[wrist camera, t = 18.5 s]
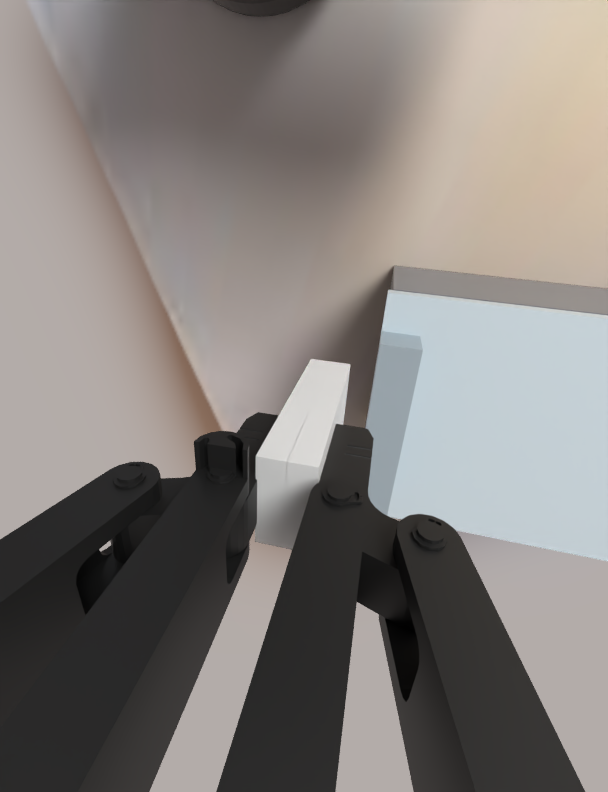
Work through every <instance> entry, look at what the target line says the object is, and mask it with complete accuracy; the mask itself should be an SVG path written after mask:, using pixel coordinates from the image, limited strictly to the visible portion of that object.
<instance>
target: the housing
mask: <svg viewBox="0 0 608 792" xmlns="http://www.w3.org/2000/svg"><path fill="white" fill-rule="evenodd" d="M390 290H396V291H404V292H413V293H421V294H430V295H438V296H447V297H455V298H464V299H472V300H481V301H489V302H498V303H506V304H515V305H523V306H532V307H540V308H549V309H557V310H566V311H574V312H583V313H591V314H600V315H608V289H605V288H596V287H587V286H578V285H569V284H559V283H550V282H541V281H532V280H522V279H513V278H504V277H495V276H485V275H476V274H467V273H458V272H448V271H439V270H430V269H421V268H412V267H402V266H394V269H393V275H392V281H391V287H390Z"/></svg>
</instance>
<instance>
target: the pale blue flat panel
mask: <svg viewBox="0 0 608 792" xmlns="http://www.w3.org/2000/svg"><path fill="white" fill-rule="evenodd" d="M365 428H366V429H368V430H369V431H370V433H371V435H372V437H373V438H374V441H373V450H372V458H371V468H370V477H369V486H368V496H369V498H370V501H371V503H372V504H373V505H374V506H375V507H376V508H377V509H378V510H379V511H380V512H382V513H383V514H385V515H387V516H389V517H392V518H397V519H403V518H405V517H407V516H409V515H414V514H424V515H431V516H434V517H436V518H439V519H441V520H443V521H445V522H446V523H448V524H449V525H450V526H452V527H453V528H454V529H455V530H457V531H461V532H466V533H471V534H476V535H481V536H486V537H491V538H496V539H501V540H505V541H511V542H515V543H520V544H525V545H530V546H535V547H540V548H545V549H550V550H555V551H560V552H565V553H569V554H574V555H579V556H584V557H589V558H594V559H599V560H604V561H608V315H600V314H591V313H583V312H574V311H566V310H557V309H549V308H540V307H532V306H523V305H515V304H506V303H498V302H489V301H481V300H472V299H464V298H455V297H447V296H438V295H430V294H421V293H413V292H404V291H396V290H388V294H387V300H386V306H385V312H384V318H383V324H382V330H381V336H380V342H379V348H378V353H377V359H376V365H375V371H374V377H373V383H372V389H371V395H370V401H369V407H368V413H367V419H366V425H365Z"/></svg>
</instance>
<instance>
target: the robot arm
mask: <svg viewBox="0 0 608 792" xmlns="http://www.w3.org/2000/svg"><path fill="white" fill-rule="evenodd" d="M213 1H215V2H216V3H218V4H220V5H221V6H223V7H225V8H227V9H229V10H232V11H234V12H237V13H241V14H244V15H250V16H270V15H277V14H281V13H284V12H287V11H290V10H293V9H295V8H297V7H299V6H301V5H303V4H304V3H306V2H308V1H309V0H213ZM350 365H351V364H346V363H338V362H331V361H323V360H316V359H311V360H310V362H309V363H308V365H307V367H306V369H305V370H304V372H303V374H302V376H301V377H300V379H299V381H298V383H297V384H296V386H295V388H294V390H293V391H292V393H291V395H290V397H289V398H288V400H287V402H286V404H285V405H284V407H283V409H282V411H281V413H280V414H279V416H278V415H271V414H265V413H259V412H258V413H256V414H254V415H253V416H251V417H249V418H247V419H246V421H245V422H244V423H243V425H242V426H241V428H240V430H238V432H237V433H234V432H228V431H218V432H211V433H208V434H205V435H203V436H200V437H199V438H198V439H197V440H195V441H194V448H195V462H196V471H195V472H194V473H193V475H192V476H191V477H185V478H166V479H161V478H160V473H159V470H158V469H157V467H155V466H154V465H152V464H149V463H145V462H130V463H126V464H122V465H119V466H117V467H114V468H112V469H110V470H109V471H107V472H105V473H104V474H102V475H101V476H99V477H98V478H96V479H95V480H93V481H91V482H90V483H88V484H87V485H85V486H84V487H82V488H81V489H79V490H77V491H76V492H74V493H73V494H71V495H70V496H68V497H66V498H65V499H63V500H62V501H60V502H58V503H57V504H56V505H54V506H52V507H51V508H49V509H47V510H46V511H44V512H43V513H41V514H40V515H38V516H36V517H35V518H33V519H32V520H30V521H29V522H27V523H26V524H24V525H22V526H21V527H19V528H18V529H16V530H14V531H13V532H11V533H10V534H9V535H7V536H5V537H3V538H2V539H0V792H149V791H150V788H151V786H152V784H153V781H154V779H155V777H156V774H157V772H158V770H159V767H160V765H161V762H162V760H163V758H164V755H165V753H166V751H167V748H168V746H169V744H170V741H171V739H172V737H173V734H174V731H175V729H176V727H177V725H178V722H179V720H180V718H181V715H182V713H183V711H184V708H185V706H186V703H187V701H188V699H189V696H190V694H191V692H192V689H193V687H194V685H195V682H196V680H197V678H198V675H199V673H200V671H201V668H202V665H203V663H204V661H205V658H206V656H207V654H208V652H209V649H210V647H211V645H212V642H213V640H214V637H215V635H216V633H217V630H218V628H219V626H220V623H221V621H222V619H223V616H224V614H225V611H226V609H227V607H228V604H229V602H230V600H231V597H232V595H233V593H234V590H235V588H236V586H237V583H238V581H239V578H240V576H241V573H242V571H243V569H244V567H245V564H246V562H247V559H248V555H249V540H250V538H251V536H252V534H253V531H254V529H255V542H259V543H264V544H268V545H273V546H277V547H282V548H286V549H291V550H292V553H291V556H290V559H289V562H288V565H287V568H286V572H285V575H284V578H283V581H282V584H281V588H280V591H279V594H278V597H277V601H276V603H275V607H274V610H273V613H272V616H271V620H270V623H269V626H268V629H267V632H266V635H265V639H264V642H263V645H262V648H261V651H260V655H259V658H258V661H257V664H256V667H255V670H254V674H253V677H252V680H251V683H250V686H249V690H248V693H247V696H246V699H245V702H244V706H243V709H242V712H241V715H240V718H239V721H238V725H237V728H236V731H235V734H234V737H233V740H232V744H231V747H230V750H229V754H228V756H227V760H226V763H225V766H224V769H223V772H222V775H221V779H220V782H219V785H218V788H217V792H335V789H336V780H337V771H338V763H339V753H340V745H341V736H342V727H343V718H344V709H345V700H346V691H347V682H348V674H349V664H350V656H351V647H352V638H353V629H354V619H355V611H356V602H358V603H360V604H362V605H364V606H365V607H367V608H369V609H371V610H373V611H374V612H376V613H378V614H379V622H380V626H381V632H382V636H383V641H384V646H385V651H386V656H387V661H388V666H389V671H390V676H391V681H392V686H393V691H394V696H395V701H396V706H397V711H398V715H399V720H400V726H401V731H402V735H403V740H404V745H405V750H406V755H407V760H408V765H409V770H410V775H411V780H412V785H413V790H414V792H585V791H584V789H583V786H582V785H581V782H580V780H579V778H578V777H577V774H576V772H575V770H574V768H573V766H572V764H571V762H570V760H569V758H568V756H567V754H566V752H565V750H564V748H563V746H562V744H561V741H560V739H559V738H558V735H557V733H556V731H555V729H554V727H553V725H552V723H551V721H550V719H549V717H548V715H547V713H546V711H545V709H544V707H543V705H542V703H541V701H540V699H539V697H538V695H537V692H536V690H535V688H534V686H533V684H532V682H531V680H530V678H529V676H528V674H527V672H526V670H525V668H524V666H523V664H522V662H521V660H520V658H519V656H518V654H517V652H516V649H515V647H514V646H513V644H512V641H511V639H510V638H509V635H508V633H507V631H506V629H505V627H504V625H503V623H502V621H501V619H500V617H499V615H498V613H497V611H496V609H495V607H494V605H493V603H492V600H491V599H490V596H489V594H488V592H487V590H486V588H485V586H484V584H483V582H482V580H481V578H480V576H479V574H478V572H477V570H476V568H475V566H474V564H473V562H472V560H471V558H470V556H469V553H468V551H467V549H466V547H465V545H464V543H463V541H462V539H461V537H460V536H459V535H458V533H457V532H456V530H455V529H454V528H453V527H452V526H450V525H449V524H448V523H446V522H445V521H443V520H441V519H439V518H436V517H434V516H431V515H424V514H414V515H409V516H407V517H405V518H403V519H401V521H397V520H395V519H393V518H391V517H389V516H387V515H385V514H383V513H382V512H380V511H379V510H378V509H377V508H376V507H375V506H374V505H373V504H372V503H371V501H370V498H369V496H368V486H369V477H370V468H371V458H372V450H373V441H374V438H373V437H372V435H371V433H370V431H369V430H368V429H366V428H360V427H353V426H347V425H343V423H344V415H345V406H346V398H347V390H348V381H349V373H350ZM108 541H111V546H110V547H108V548H107V549H105V550H103V551H102V552H100V551H99V549H100V548H101V547H102V546H103V545H105V544H106V543H107V542H108Z"/></svg>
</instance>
